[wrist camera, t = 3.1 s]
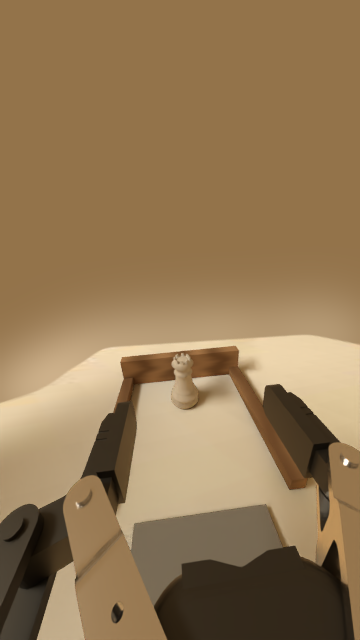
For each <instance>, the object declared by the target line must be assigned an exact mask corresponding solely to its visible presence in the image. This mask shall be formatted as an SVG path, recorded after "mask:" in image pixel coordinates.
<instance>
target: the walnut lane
mask: <svg viewBox="0 0 360 640" xmlns="http://www.w3.org/2000/svg"><path fill="white" fill-rule="evenodd" d="M181 353H184V356H186V354H189V357H191V359H192V361H193V365H192V367H191V369H192V374H191V377H192V378H196V377H205V376H214V375H224V374H229V375H230V376H231V378H232V380H233V382H234V384H235V386H236V388H237V390H238V392H239V394H240V396H241V398H242V399H243V401H244V403H245V405H246V407H247V409H248V411H249V413H250V415H251V417H252V419H253V421H254V422H255V424H256V426H257V428H258V430H259V432H260V434H261V436H262V438H263V440H264V442H265V444H266V445H267V447H268V449H269V451H270V453H271V455H272V457H273V459H274V461H275V463H276V465H277V467H278V468H279V470H280V472H281V474H282V476H283V478H284V480H285V482H286V484H287V486H288V488H289V490H291V489H298V488H305V486H306V483H307V480H308V478H304V477H303V476H302V474H301V472H300V471H299V469H298V467H297V466H296V464H295V463H294V461H293V459H292V458H291V456H290V454H289V453H288V451H287V449H286V448H285V446H284V445H283V443H282V441H281V440H280V438H279V436H278V435H277V433H276V431H275V430H274V428H273V427H272V425H271V423H270V422H269V420H268V418H267V417H266V415H265V412H264V409H263V406H262V404H261V403H260V401H259V399H258V398H257V396H256V395H255V393H254V391H253V390H252V388H251V387H250V385H249V384H248V382H247V380H246V379H245V377H244V376H243V374H242V372H241V371H240V369H239V368H238V354H239V350H238V349H237V347H236V346H230V347H220V348H210V349H200V350H190V351H180V352H170V353H160V354H150V355H140V356H130V357H122V359H121V362H120V363H121V368H122V372H123V377H124V380H123V383H122V386H121V390H120V393H119V396H118V399H117V402H116V406H115V409H114V412H113V413H115V410H116V407H117V404H118V403H119V402H127V401H130V400H131V396H132V391H133V387H134V384H140V383H150V382H159V381H168V380H176V377H175V374H174V370H175V369H174V368H173V367H172V365H171V364H172V361H173V360H174V359H173V358H174V357H175V355H176V354H179V356H181Z"/></svg>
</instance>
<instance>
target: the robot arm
mask: <svg viewBox="0 0 360 640" xmlns="http://www.w3.org/2000/svg"><path fill="white" fill-rule="evenodd" d="M263 409H264V412H265V415H266V417H267V418H268V420H269V422H270V423H271V425H272V427H273V428H274V430H275V431H276V433H277V435H278V436H279V438H280V440H281V441H282V443H283V445H284V446H285V448H286V449H287V451H288V453H289V454H290V456H291V458H292V459H293V461H294V463H295V464H296V466H297V467H298V469H299V471H300V472H301V474H302V476H303V477H304V478H311V477H313V478H314V479H315V481H316V482H317V486H316V494H317V524H318V540H317V548H316V563H314V562H312V561H310V560H308V559H305V558H303V557H300V556H299V554H298V551H297V549H296V547H295V546H290V547H284V548H277V549H271V550H267V551H266V552H264V553H263V554H261V555H260V556H258V557H257V558H255V559H254V560H252V561H251V562H249V563H248V564H246V565H245V566H243V567H239V566H235V565H231V564H227V563H223V562H219V561H215V560H211V559H208V560H202V561H195V562H189V563H183V564H181V566H182V574H181V575H179V576H178V577H176V578H175V579H174V580H173V581H172V582H171V583H169V585H168V586H167V587H166V588H165V589H164V591H163V592H162V594H161V595H160V597H159V598H158V600H157V601H156V603H155V605H154V607H153V604H152V602H151V600H150V597H149V595H148V592H147V590H146V587H145V585H144V583H143V580H142V578H141V575H140V573H139V571H138V568H137V566H136V563H135V561H134V558H133V556H132V554H131V551H130V549H129V546H128V544H127V542H126V539H125V537H124V534H123V532H122V530H121V528H120V526H119V523H118V521H117V518H116V511H117V505H118V504H120V503H125V500H126V493H127V487H128V481H129V475H130V468H131V462H132V456H133V449H134V443H135V437H136V429H137V422H136V417H135V412H134V408H133V403H132V401H127V402H119V403H118V404H117V407H116V410H115V413H109V414H108V415H107V416H106V418H105V419H104V420H103V421H102V423H101V426H100V429H99V433H98V434H97V437H96V441H95V442H94V445H93V448H92V451H91V453H90V456H89V459H88V462H87V464H86V467H85V470H84V472H83V475H82V477H81V479H80V480H79V481H78V482H76V483H75V484H74V485H73V487H72V488H71V489H70V490H69V492H68V494H67V495H65V496H64V497H62V498H60V499H58V500H56V501H54V502H52V503H50V504H48V505H46V506H44V507H42V508H40V509H38V508H37V507H36V506H35V505H33V504H27V505H23V506H21V507H19V508H17V509H16V510H14V511H13V512H12V513H10V514H9V515H8V516H7V517H6V518H5V519H4V520H3V521H2V522H1V524H0V640H37V636H38V633H39V630H40V626H41V623H42V620H43V616H44V613H45V610H46V606H47V603H48V600H49V596H50V593H51V590H52V586H53V583H54V580H55V577H56V573H57V571H58V570H60V569H62V568H63V567H65V566H66V565H68V564H70V563H71V562H73V561H74V566H75V571H76V579H75V589H76V595H77V601H78V606H79V611H80V616H81V621H82V626H83V631H84V636H85V640H360V452H359V451H358V450H357V449H355V448H353V447H352V446H349V445H347V444H344V443H341V442H340V441H339V440H338V439H337V438H336V437H335V436H334V435H333V434H332V433H331V432H330V431H329V429H328V428H327V427H326V426H325V425H324V424H323V423H322V422H321V421H320V420H319V418H318V417H317V416H316V415H314V414H313V412H312V411H311V410H310V409H309V408H308V407H307V405H306V404H305V403H304V402H303V401H302V400H301V399H300V398H299V397H297V396H296V395H294V394H293V393H291V392H289V393H287V392H286V390H285V389H284V388H283V387H282V386H281V385H280V384H276V385H267V386H266V387H265V392H264V400H263Z"/></svg>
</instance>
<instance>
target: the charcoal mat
mask: <svg viewBox="0 0 360 640" xmlns="http://www.w3.org/2000/svg"><path fill="white" fill-rule="evenodd" d="M277 548H283V546H282V544H281V541H280V539H279V536H278V534H277V531H276V529H275V526H274V524H273V521H272V519H271V516H270V513H269V511H268V508H267V506H266V504H265V505H258V506H251V507H244V508H237V509H231V510H224V511H217V512H210V513H203V514H196V515H190V516H183V517H176V518H169V519H162V520H156V521H149V522H142V523H135V524H134V530H133V540H132V549H131V554H132V556H133V558H134V561H135V563H136V566H137V568H138V571H139V573H140V575H141V578H142V580H143V583H144V585H145V587H146V590H147V592H148V595H149V597H150V600H151V602H152V604H153V607H154V605H155V603H156V601H157V600H158V598H159V597H160V595H161V594H162V592H163V591H164V589H165V588H166V587H167V586H168V585H169V583H171V582H172V581H173V580H174V579H175V578H176V577H178V576H179V575H181V574H182V566H181V564H183V563H189V562H195V561H202V560H208V559H211V560H215V561H219V562H223V563H227V564H231V565H235V566H239V567H243V566H245V565H246V564H248V563H249V562H251V561H252V560H254V559H255V558H257V557H258V556H260V555H261V554H263V553H264V552H266V551H267V550H271V549H277Z"/></svg>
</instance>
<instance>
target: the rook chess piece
mask: <svg viewBox="0 0 360 640" xmlns="http://www.w3.org/2000/svg"><path fill="white" fill-rule="evenodd" d="M173 359H174V360H173V361H172V364H171V365H172V367H173V368H174V369H175V370H174V374H175V377H176V380H175V385H174V387H173V389H172V393H171V396H172V397H171V400H172V403H173V404H174V405H175V406H176V407H178V408H181V409H188V408H191V407H193V406H194V405H195V404H196V403H197V401H198V399H199V396H198V390H197V388H196V386H195V385H194V383H193V382H192V377H191V374H192V369H191V367H192V365H193V361H192V359H191V357H189V354H186V356H184V353H181V356H179V354H176V355H175V357H174V358H173Z"/></svg>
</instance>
